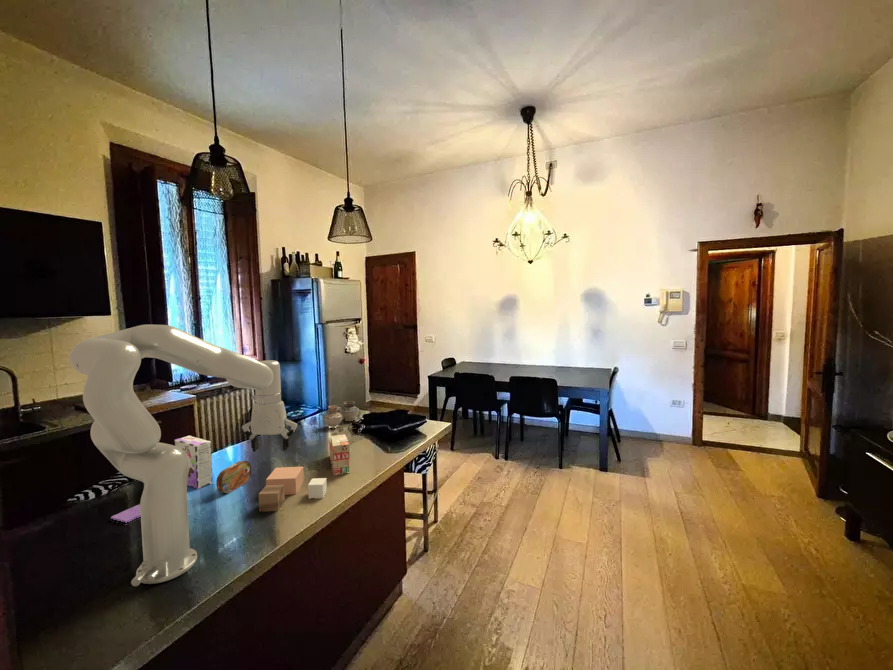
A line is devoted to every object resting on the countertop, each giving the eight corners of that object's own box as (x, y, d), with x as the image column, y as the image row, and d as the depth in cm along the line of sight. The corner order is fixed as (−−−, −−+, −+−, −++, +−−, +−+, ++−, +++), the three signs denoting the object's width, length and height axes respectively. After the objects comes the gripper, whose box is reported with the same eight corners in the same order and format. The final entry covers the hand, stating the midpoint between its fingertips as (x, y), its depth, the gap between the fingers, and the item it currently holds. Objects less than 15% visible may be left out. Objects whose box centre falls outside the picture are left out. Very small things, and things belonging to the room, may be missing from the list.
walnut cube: (278, 511, 125) (277, 493, 125) (259, 511, 125) (258, 493, 124) (284, 501, 131) (284, 484, 131) (266, 502, 131) (265, 485, 130)
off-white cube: (323, 498, 133) (322, 484, 133) (308, 498, 133) (308, 484, 133) (326, 491, 138) (326, 478, 138) (312, 492, 138) (312, 478, 138)
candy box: (175, 481, 146) (173, 439, 145) (192, 475, 151) (190, 434, 150) (197, 489, 140) (194, 445, 138) (213, 483, 145) (211, 440, 144)
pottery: (319, 429, 209) (318, 407, 208) (347, 417, 232) (346, 397, 231) (336, 431, 205) (336, 409, 204) (363, 419, 228) (362, 399, 227)
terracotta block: (296, 494, 136) (295, 478, 136) (266, 496, 135) (266, 479, 135) (303, 481, 146) (303, 466, 146) (276, 483, 145) (275, 467, 145)
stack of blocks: (329, 456, 171) (328, 429, 170) (343, 454, 173) (343, 427, 172) (333, 476, 151) (332, 445, 150) (349, 473, 153) (349, 443, 152)
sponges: (167, 506, 129) (167, 500, 129) (125, 526, 117) (125, 520, 117) (153, 502, 131) (153, 497, 131) (110, 522, 119) (110, 516, 119)
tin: (222, 497, 134) (221, 474, 133) (215, 496, 134) (213, 473, 134) (252, 478, 149) (251, 457, 148) (245, 478, 149) (244, 456, 149)
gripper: (235, 402, 121) (238, 455, 122) (292, 401, 122) (294, 453, 124) (246, 396, 128) (248, 446, 130) (299, 395, 130) (301, 444, 131)
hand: (270, 449), depth 127 cm, fingers open, 9 cm apart
